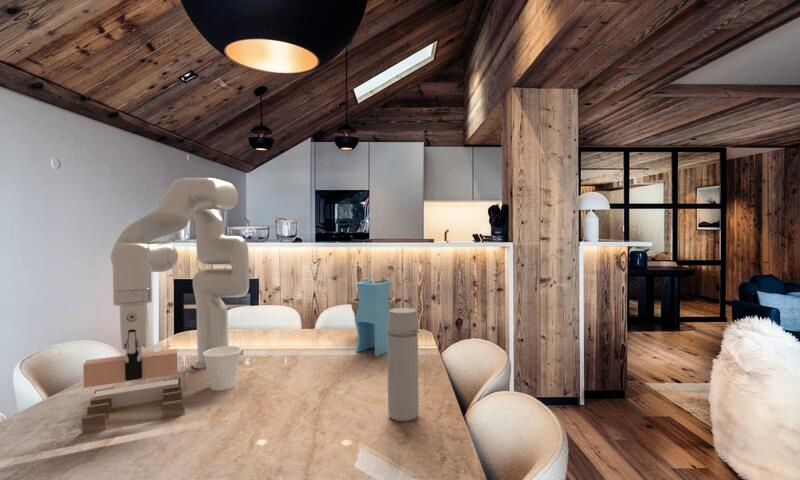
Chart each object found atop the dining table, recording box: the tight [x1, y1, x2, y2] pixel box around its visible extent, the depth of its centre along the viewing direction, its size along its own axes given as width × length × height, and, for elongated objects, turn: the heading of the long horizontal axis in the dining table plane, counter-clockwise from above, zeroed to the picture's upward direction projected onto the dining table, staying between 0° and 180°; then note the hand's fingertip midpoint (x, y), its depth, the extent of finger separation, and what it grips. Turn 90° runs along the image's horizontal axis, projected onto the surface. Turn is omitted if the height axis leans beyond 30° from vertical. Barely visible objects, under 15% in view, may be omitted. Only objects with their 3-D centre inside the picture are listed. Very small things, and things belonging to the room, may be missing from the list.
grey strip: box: [93, 378, 178, 408], centre depth 110 cm, size 18×4×4 cm, turn 118°
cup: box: [203, 345, 242, 392], centre depth 120 cm, size 10×10×11 cm
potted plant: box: [350, 276, 396, 317], centre depth 180 cm, size 18×19×25 cm
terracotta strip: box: [82, 348, 178, 389], centre depth 100 cm, size 18×4×5 cm, turn 118°
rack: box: [79, 377, 186, 436], centre depth 105 cm, size 20×20×4 cm
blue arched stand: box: [354, 279, 392, 357], centre depth 158 cm, size 10×10×25 cm
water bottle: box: [386, 307, 421, 423], centre depth 102 cm, size 9×8×25 cm
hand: (134, 375), depth 100 cm, fingers closed on terracotta strip, 4 cm apart
